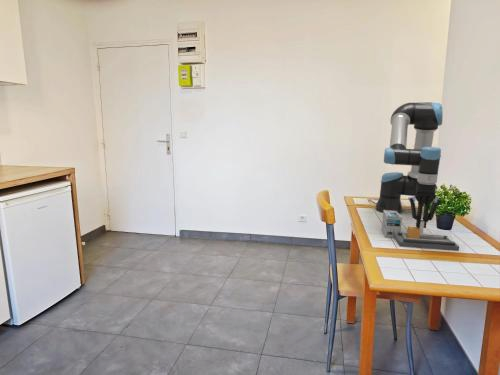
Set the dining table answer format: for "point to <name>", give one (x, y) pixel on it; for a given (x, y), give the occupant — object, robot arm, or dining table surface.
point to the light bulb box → (391, 223)
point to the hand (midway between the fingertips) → (419, 234)
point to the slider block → (413, 232)
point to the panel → (426, 242)
